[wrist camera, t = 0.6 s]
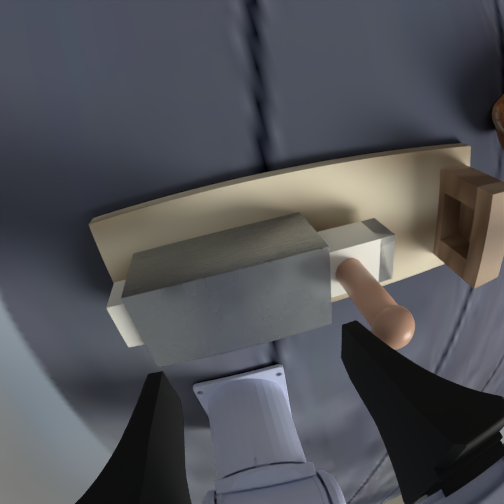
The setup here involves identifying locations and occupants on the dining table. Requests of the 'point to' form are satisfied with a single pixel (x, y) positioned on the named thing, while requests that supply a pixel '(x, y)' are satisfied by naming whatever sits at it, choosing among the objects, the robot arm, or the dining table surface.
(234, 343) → the grey rectangular sleeve
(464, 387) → the robot arm
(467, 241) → the socket block
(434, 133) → the dining table surface
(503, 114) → the tin
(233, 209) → the base board
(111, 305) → the white bar
